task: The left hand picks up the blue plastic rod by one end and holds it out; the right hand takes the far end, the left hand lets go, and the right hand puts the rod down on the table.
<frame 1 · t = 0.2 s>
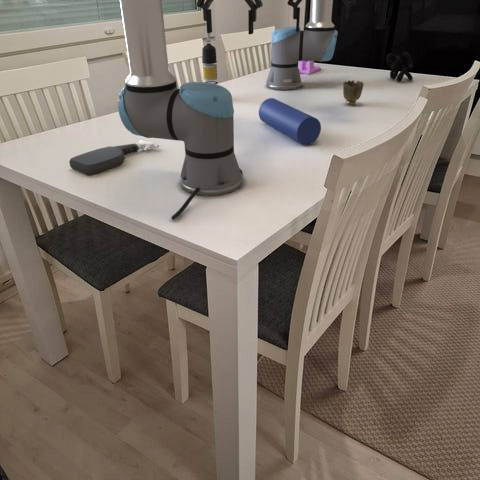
left hand: (230, 33, 138), 28 cm above the table, tool pointing down, fingers open, 13 cm apart
right hand: (319, 31, 138), 28 cm above the table, tool pointing down, fingers open, 13 cm apart
rod: (287, 133, 142), on the table
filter: (211, 98, 179), on the table
cup: (350, 104, 168), on the table
spray bottle: (117, 159, 125), on the table
bracket: (310, 71, 220), on the table
squiggle: (399, 80, 200), on the table
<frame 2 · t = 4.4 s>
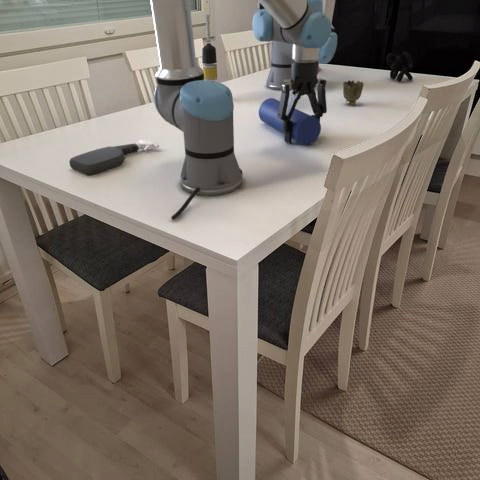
left hand: (300, 139, 135), 0 cm above the table, tool pointing down, fingers closed on rod, 8 cm apart
right hand: (280, 21, 147), 30 cm above the table, tool pointing down, fingers open, 13 cm apart
rod: (287, 133, 142), on the table, touching left hand
everything else where it was.
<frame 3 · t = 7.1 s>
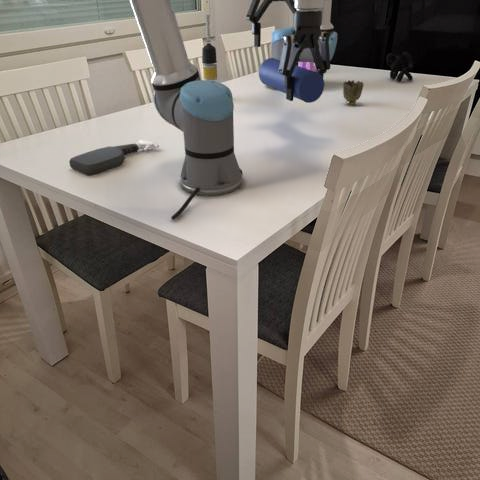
left hand: (303, 97, 129), 13 cm above the table, tool pointing down, fingers closed on rod, 8 cm apart
right hand: (276, 45, 138), 24 cm above the table, tool pointing down, fingers open, 13 cm apart
rod: (289, 93, 135), point 12 cm above the table, touching left hand
everything else where it was.
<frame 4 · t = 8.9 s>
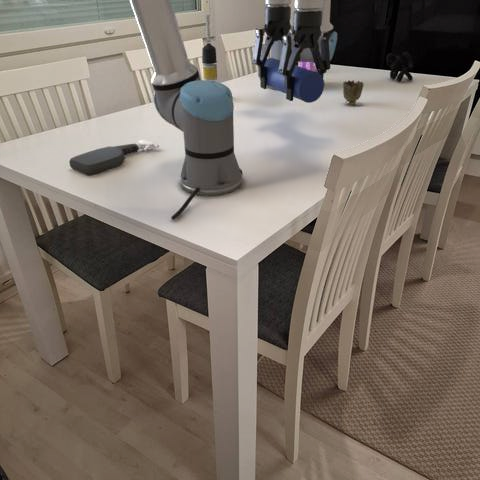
left hand: (303, 97, 129), 13 cm above the table, tool pointing down, fingers closed on rod, 8 cm apart
right hand: (276, 86, 141), 13 cm above the table, tool pointing down, fingers closed on rod, 8 cm apart
rod: (288, 93, 135), point 12 cm above the table, touching left hand, right hand
everything else where it was.
when the left hand's fingers open (13 cm above the table, at t = 10.0 s): rod stays where it is, held by the right hand.
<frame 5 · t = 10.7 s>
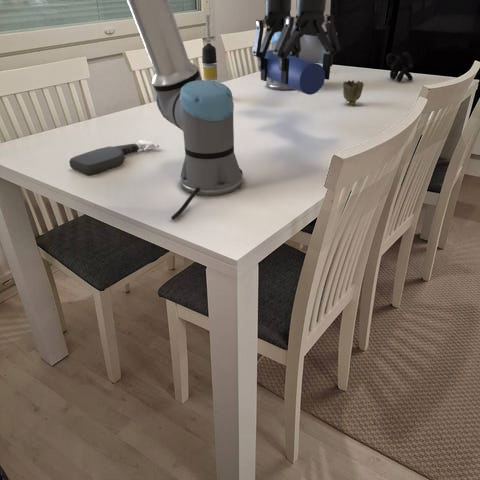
left hand: (305, 81, 125), 18 cm above the table, tool pointing down, fingers open, 13 cm apart
right hand: (276, 78, 140), 15 cm above the table, tool pointing down, fingers closed on rod, 8 cm apart
rod: (289, 85, 134), point 15 cm above the table, touching right hand
everything else where it was.
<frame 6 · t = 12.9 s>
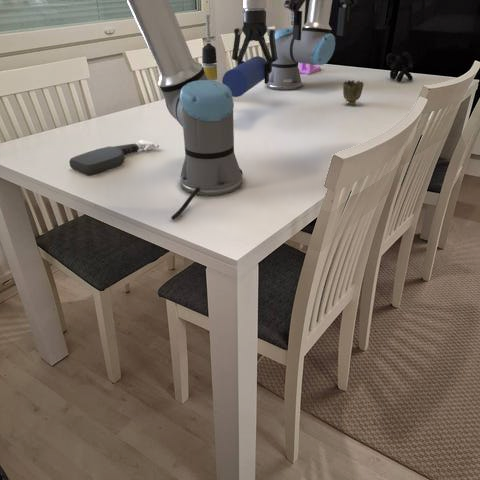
left hand: (319, 37, 115), 29 cm above the table, tool pointing down, fingers open, 13 cm apart
right hand: (254, 82, 156), 11 cm above the table, tool pointing down, fingers closed on rod, 8 cm apart
rod: (246, 88, 150), point 10 cm above the table, touching right hand
everything else where it was.
when the right hand's fingers open (2 cm above the table, at t = 14.6 s): rod drops 1 cm, on the table.
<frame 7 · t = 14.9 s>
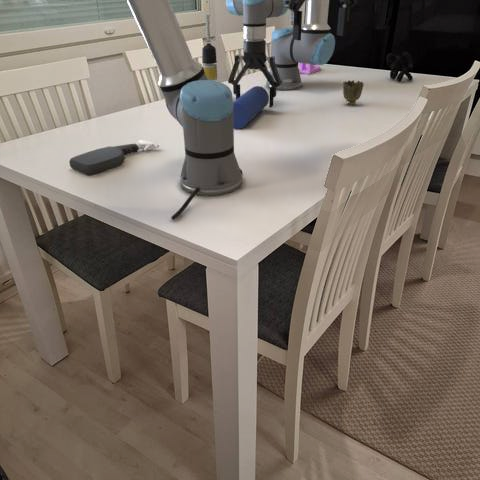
left hand: (319, 37, 115), 29 cm above the table, tool pointing down, fingers open, 13 cm apart
right hand: (254, 104, 161), 3 cm above the table, tool pointing down, fingers open, 12 cm apart
rod: (247, 118, 156), on the table
everything else where it was.
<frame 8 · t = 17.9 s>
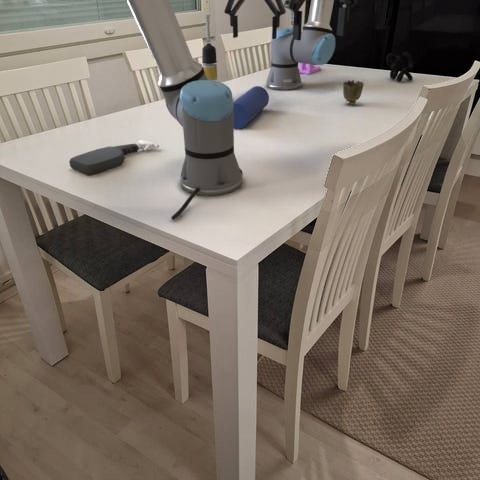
left hand: (319, 37, 115), 29 cm above the table, tool pointing down, fingers open, 13 cm apart
right hand: (254, 38, 149), 25 cm above the table, tool pointing down, fingers open, 13 cm apart
nothing on the table moved.
at the end: rod inside the target area (7.9 cm from its centre), on the table; the left hand is holding nothing; the right hand is holding nothing; rod at rest at the end (0.0 cm/s) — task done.
